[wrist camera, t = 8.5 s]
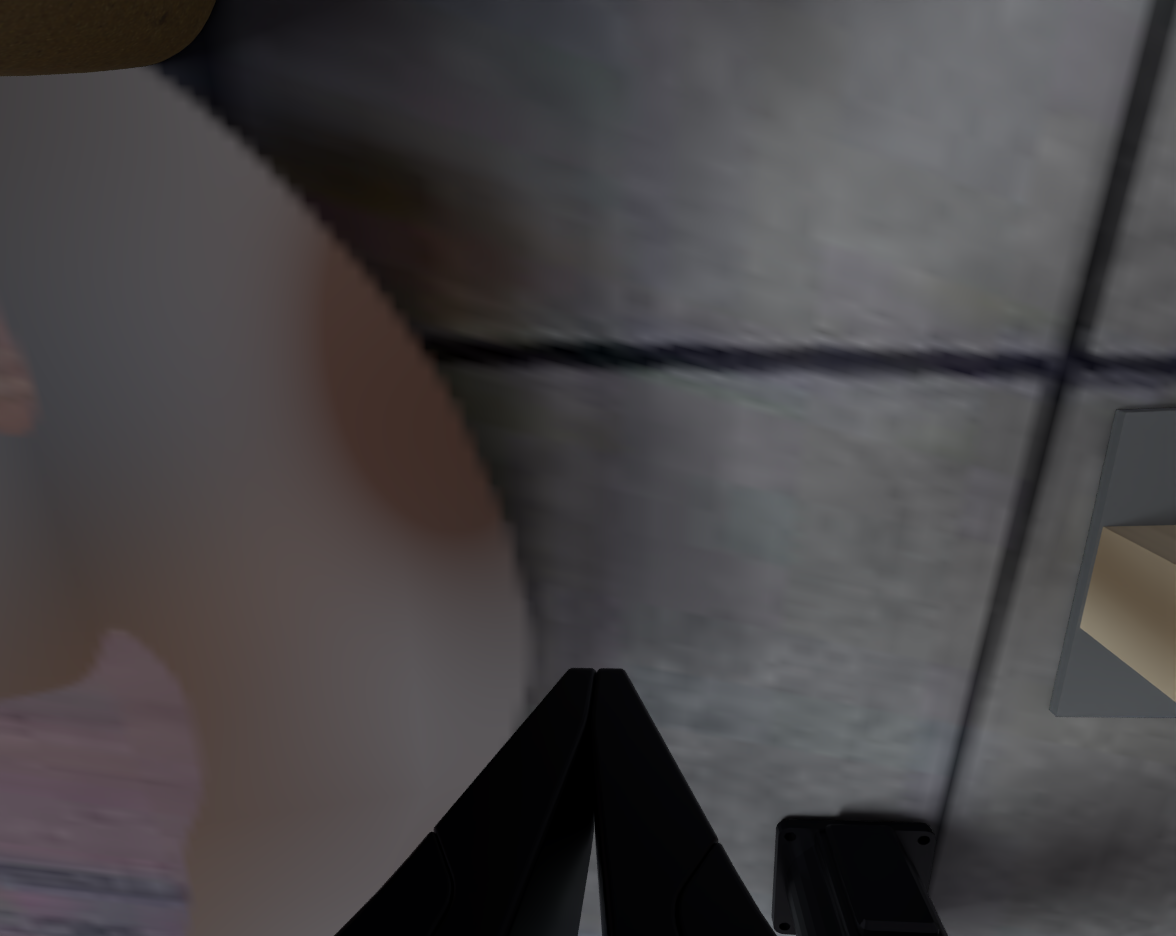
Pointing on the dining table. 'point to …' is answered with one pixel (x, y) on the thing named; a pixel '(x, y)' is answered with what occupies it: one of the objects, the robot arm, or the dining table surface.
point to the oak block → (1136, 600)
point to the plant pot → (94, 34)
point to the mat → (1125, 498)
